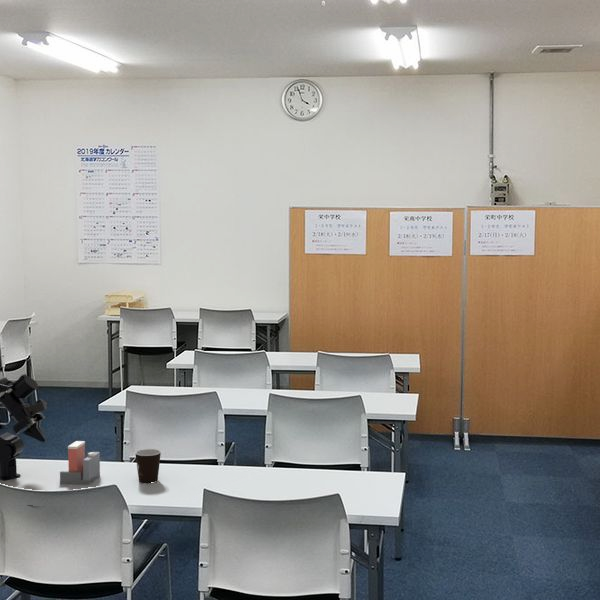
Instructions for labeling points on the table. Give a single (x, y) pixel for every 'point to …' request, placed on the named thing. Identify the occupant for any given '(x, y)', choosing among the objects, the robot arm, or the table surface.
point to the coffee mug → (148, 465)
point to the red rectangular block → (76, 456)
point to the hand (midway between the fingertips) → (44, 441)
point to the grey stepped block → (89, 471)
